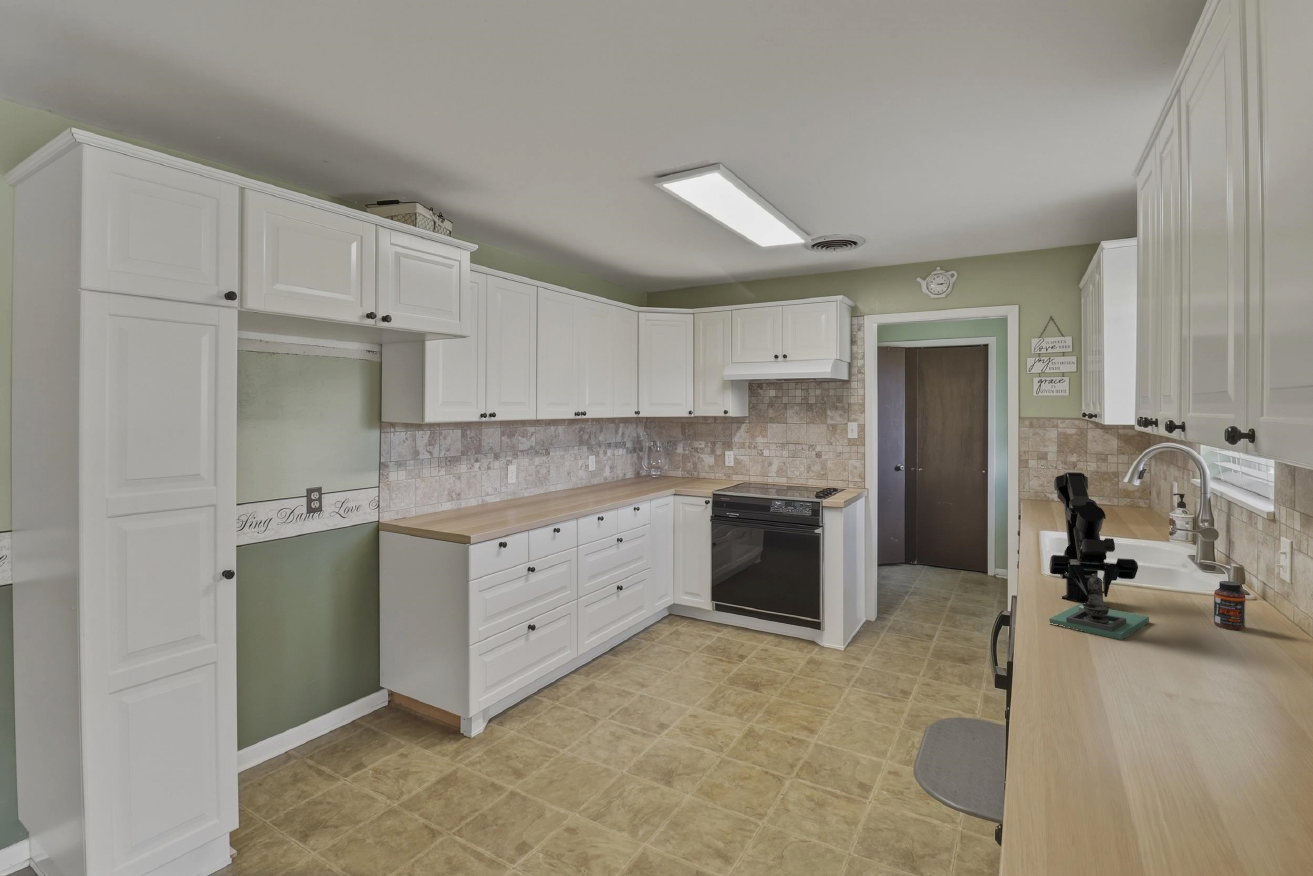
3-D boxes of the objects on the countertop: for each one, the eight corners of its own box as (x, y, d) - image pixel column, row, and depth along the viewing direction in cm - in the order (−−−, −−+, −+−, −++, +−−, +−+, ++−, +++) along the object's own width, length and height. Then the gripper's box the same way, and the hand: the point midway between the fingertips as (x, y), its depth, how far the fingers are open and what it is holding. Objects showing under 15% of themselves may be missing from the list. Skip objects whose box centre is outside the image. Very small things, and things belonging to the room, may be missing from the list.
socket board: (1079, 608, 180) (1079, 599, 180) (1149, 622, 168) (1148, 612, 168) (1049, 624, 168) (1049, 614, 168) (1121, 640, 156) (1121, 629, 155)
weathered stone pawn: (1108, 617, 165) (1107, 571, 165) (1112, 624, 160) (1111, 577, 160) (1081, 615, 168) (1080, 569, 168) (1083, 622, 163) (1082, 575, 163)
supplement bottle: (1217, 629, 161) (1217, 584, 161) (1210, 622, 167) (1210, 578, 166) (1249, 632, 159) (1248, 586, 158) (1240, 624, 164) (1240, 580, 163)
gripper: (1050, 524, 171) (1056, 576, 161) (1136, 528, 163) (1148, 582, 153) (1046, 548, 178) (1052, 598, 169) (1128, 552, 170) (1139, 605, 161)
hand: (1096, 595), depth 163 cm, fingers closed on weathered stone pawn, 3 cm apart
